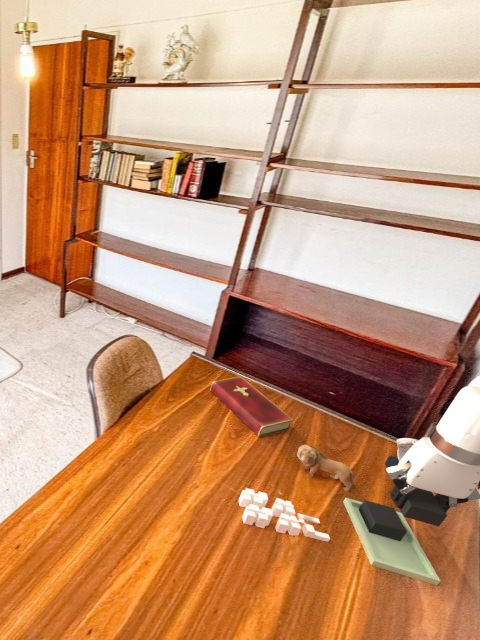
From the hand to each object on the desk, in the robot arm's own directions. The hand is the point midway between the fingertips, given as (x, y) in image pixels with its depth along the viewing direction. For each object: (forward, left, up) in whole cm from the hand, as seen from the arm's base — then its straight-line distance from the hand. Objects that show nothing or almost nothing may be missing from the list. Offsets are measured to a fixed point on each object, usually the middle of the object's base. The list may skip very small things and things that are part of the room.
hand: (414, 506), depth 83 cm
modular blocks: (+22, +2, -14) cm, 26 cm away
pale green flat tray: (0, -1, -13) cm, 14 cm away
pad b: (0, 0, -1) cm, 1 cm away
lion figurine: (+9, -15, -14) cm, 22 cm away
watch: (-13, -25, -14) cm, 32 cm away
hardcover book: (+23, -37, -14) cm, 46 cm away
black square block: (0, -5, -13) cm, 14 cm away
